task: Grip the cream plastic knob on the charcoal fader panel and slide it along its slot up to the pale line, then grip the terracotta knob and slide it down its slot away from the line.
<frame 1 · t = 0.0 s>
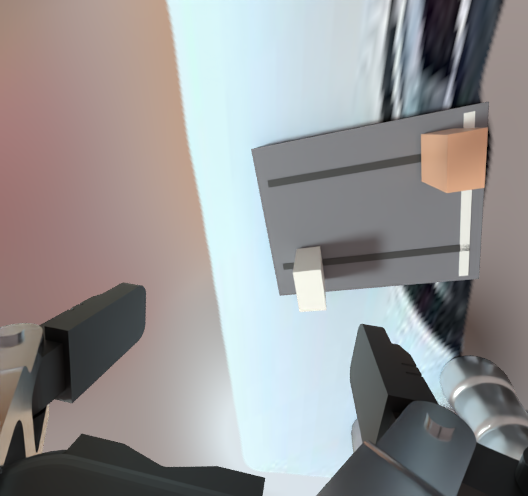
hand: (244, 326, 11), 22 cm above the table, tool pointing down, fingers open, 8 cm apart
cream fader: (310, 277, 29), point 5 cm above the table, slide at -6.0 cm
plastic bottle: (463, 368, 36), on the table
fader panel: (363, 209, 31), on the table
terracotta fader: (449, 158, 23), point 5 cm above the table, slide at 6.0 cm
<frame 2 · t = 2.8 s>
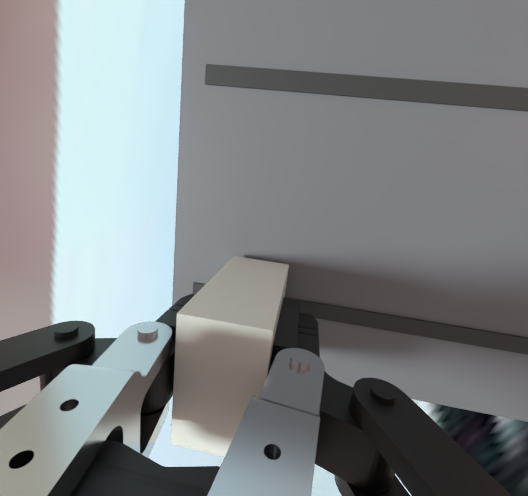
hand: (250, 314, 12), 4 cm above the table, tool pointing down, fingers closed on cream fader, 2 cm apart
cream fader: (241, 336, 10), point 5 cm above the table, slide at -6.0 cm, touching gripper
fader panel: (403, 213, 14), on the table
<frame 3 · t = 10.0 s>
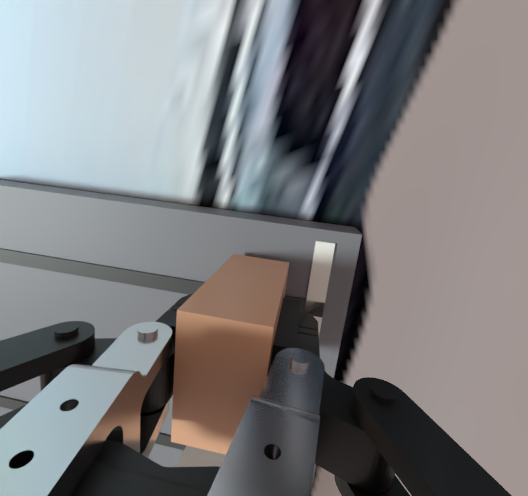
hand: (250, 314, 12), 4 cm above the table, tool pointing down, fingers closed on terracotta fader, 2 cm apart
fader panel: (152, 339, 17), on the table
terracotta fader: (242, 334, 10), point 5 cm above the table, slide at 6.1 cm, touching gripper
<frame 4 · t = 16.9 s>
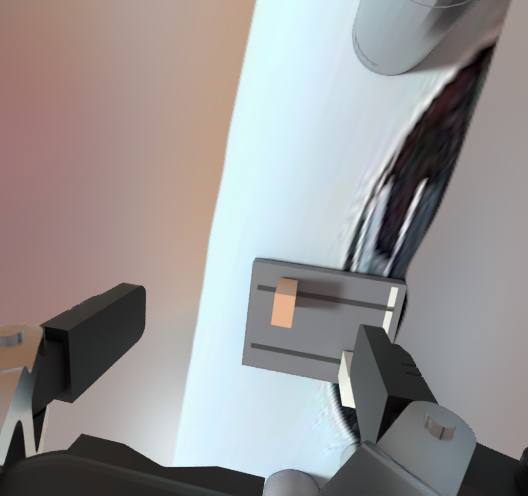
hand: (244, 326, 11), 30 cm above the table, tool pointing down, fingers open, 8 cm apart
cream fader: (352, 378, 38), point 5 cm above the table, slide at 5.0 cm
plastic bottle: (359, 452, 47), on the table
fader panel: (317, 321, 43), on the table
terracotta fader: (285, 301, 37), point 5 cm above the table, slide at -4.9 cm
pillar candle: (292, 489, 51), on the table
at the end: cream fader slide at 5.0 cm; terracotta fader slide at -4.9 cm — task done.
